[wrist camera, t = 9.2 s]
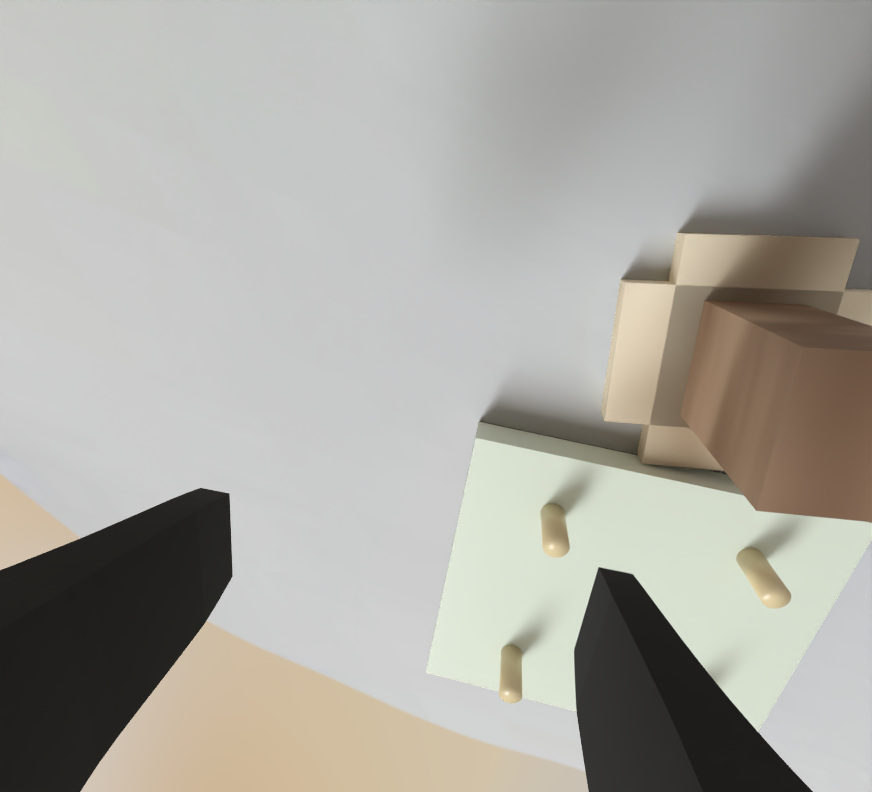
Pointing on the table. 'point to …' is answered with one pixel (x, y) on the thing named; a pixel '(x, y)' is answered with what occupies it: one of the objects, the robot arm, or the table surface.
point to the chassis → (628, 568)
